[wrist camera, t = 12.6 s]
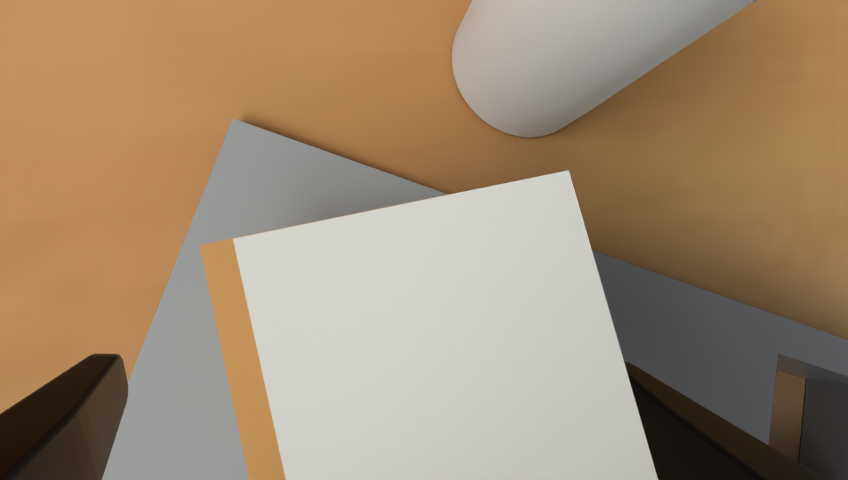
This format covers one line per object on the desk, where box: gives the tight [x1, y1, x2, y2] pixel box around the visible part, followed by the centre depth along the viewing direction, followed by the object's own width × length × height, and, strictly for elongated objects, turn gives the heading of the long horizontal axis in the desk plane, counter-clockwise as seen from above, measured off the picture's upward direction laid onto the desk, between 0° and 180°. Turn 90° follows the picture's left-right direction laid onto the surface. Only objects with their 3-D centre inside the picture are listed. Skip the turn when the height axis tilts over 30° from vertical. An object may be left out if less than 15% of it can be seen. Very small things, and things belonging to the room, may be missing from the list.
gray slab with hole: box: [592, 250, 848, 480], centre depth 19 cm, size 11×16×3 cm
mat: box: [102, 119, 448, 480], centre depth 17 cm, size 12×12×1 cm
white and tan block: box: [199, 170, 658, 480], centre depth 11 cm, size 7×7×12 cm
